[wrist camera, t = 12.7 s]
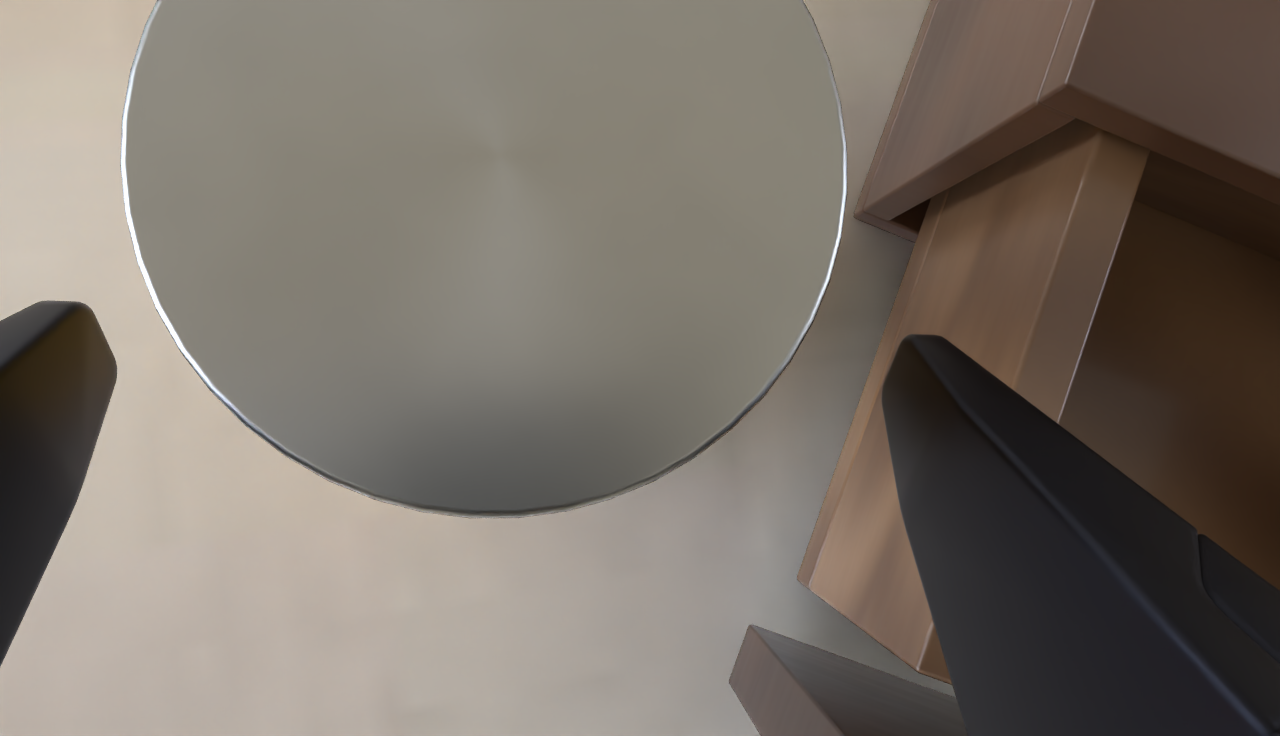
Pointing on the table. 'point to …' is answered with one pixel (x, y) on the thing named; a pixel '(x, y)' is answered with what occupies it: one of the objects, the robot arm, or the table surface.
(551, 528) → the table surface
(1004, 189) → the drawer
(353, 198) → the tin
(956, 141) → the cabinet
